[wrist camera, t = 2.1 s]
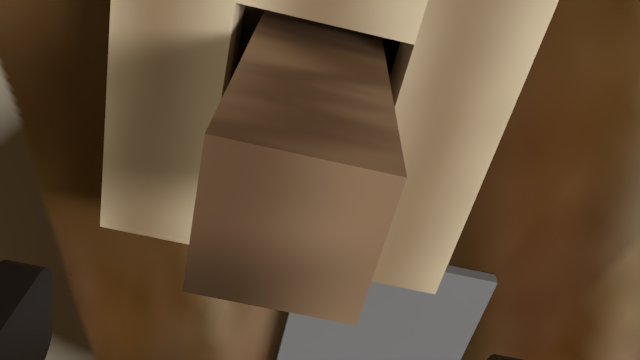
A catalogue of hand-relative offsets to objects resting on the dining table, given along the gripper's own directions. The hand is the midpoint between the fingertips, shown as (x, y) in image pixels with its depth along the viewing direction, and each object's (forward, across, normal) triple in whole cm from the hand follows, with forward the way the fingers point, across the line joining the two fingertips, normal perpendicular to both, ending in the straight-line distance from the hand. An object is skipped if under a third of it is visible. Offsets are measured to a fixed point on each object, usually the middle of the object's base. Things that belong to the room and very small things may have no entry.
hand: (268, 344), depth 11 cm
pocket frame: (+14, 0, 0) cm, 15 cm away
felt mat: (+14, -6, +12) cm, 20 cm away
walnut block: (+14, 0, 0) cm, 15 cm away
